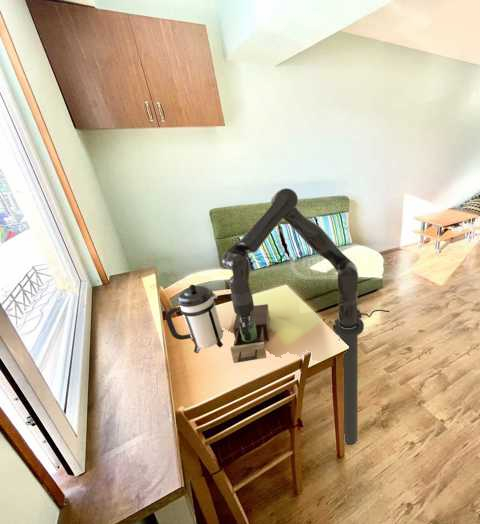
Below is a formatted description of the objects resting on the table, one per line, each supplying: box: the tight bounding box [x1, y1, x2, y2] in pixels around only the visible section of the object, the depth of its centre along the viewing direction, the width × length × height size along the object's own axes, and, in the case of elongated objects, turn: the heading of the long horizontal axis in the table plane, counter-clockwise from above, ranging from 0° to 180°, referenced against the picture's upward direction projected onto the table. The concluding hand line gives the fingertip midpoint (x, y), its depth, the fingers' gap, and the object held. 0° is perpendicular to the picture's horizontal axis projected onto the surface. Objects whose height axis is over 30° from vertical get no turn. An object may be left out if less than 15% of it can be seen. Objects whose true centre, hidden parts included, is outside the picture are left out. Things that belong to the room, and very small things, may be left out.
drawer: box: [230, 326, 267, 364], centre depth 115 cm, size 20×13×7 cm, turn 13°
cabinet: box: [232, 303, 271, 342], centre depth 129 cm, size 17×14×9 cm
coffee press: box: [165, 284, 224, 354], centre depth 116 cm, size 17×16×30 cm
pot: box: [239, 322, 257, 342], centre depth 115 cm, size 6×6×6 cm
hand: (249, 334), depth 116 cm, fingers closed on pot, 6 cm apart
